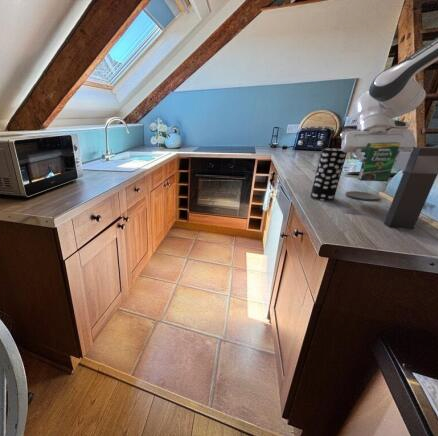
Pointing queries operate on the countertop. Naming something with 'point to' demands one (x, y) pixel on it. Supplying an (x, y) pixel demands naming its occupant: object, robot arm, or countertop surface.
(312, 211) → the countertop surface
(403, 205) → the tall grey box
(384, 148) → the coffee box
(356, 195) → the coaster
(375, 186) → the countertop surface
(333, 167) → the spotted tube
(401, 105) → the robot arm
